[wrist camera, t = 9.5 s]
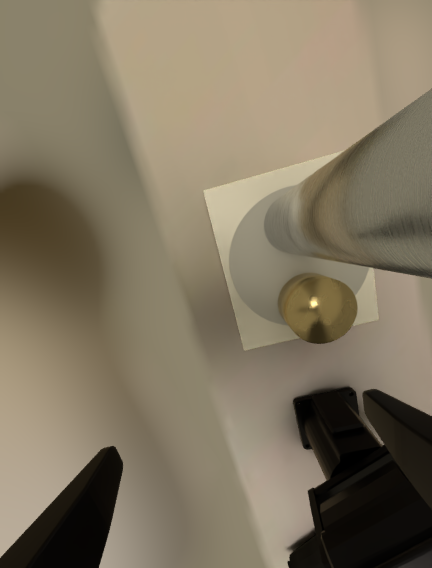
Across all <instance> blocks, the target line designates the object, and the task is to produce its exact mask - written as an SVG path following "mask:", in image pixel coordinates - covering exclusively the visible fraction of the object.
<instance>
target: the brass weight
mask: <svg viewBox="0 0 432 568" xmlns="http://www.w3.org/2000/svg"><path fill="white" fill-rule="evenodd" d="M357 309H358V307H357V300H356V297H355V295H354V293H353V291H352V290H351V289H350V288H349V287H348V286H347V285H346V284H345V283H343V282H341V281H339V280H336V279H333V278H330V277H327V276H324V275H321V274H317V273H302V274H299V275H297V276H295V277H293V278H291V279H290V280H289V281H288V282H287V283H286V284H285V285H284V286H283V288H282V289H281V291H280V294H279V297H278V310H279V313H280V315H281V317H282V318H283V319H284V321H285V322H286V323H287V324H288V326H289V327H290V328H291V329H292V330H293V332H294V333H295V334H296V335H297V336H298V337H300V338H301V339H303V340H305V341H307V342H310V343H316V344H323V343H328V342H332V341H334V340H337V339H338V338H340V337H341V336H343V335H344V334H345V333H346V332H347V331H348V330H349V329H350V328H351V326H352V325H353V323H354V321H355V319H356V315H357Z"/></svg>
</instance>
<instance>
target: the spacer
mask: <svg viewBox="0 0 432 568" xmlns="http://www.w3.org/2000/svg"><path fill="white" fill-rule="evenodd" d="M264 231H265V235H266V237H267V239H268V241H269V242H270V244H271V245H272V246H273V247H274V248H276V249H277V250H279V251H282V252H285V253H291V254H296V255H302V256H308V257H313V258H319V259H324V260H330V261H336V262H341V263H347V264H353V265H358V266H364V267H370V268H375V269H381V270H387V271H392V272H398V273H404V274H409V275H415V276H421V277H426V278H432V89H431V90H429V91H428V92H426V93H425V94H424V95H422V96H421V97H419V98H418V99H417V100H415V101H414V102H412V103H411V104H410V105H408V106H407V107H405V108H404V109H403V110H401V111H400V112H398V113H397V114H396V115H394V116H393V117H391V118H390V119H389V120H387V121H386V122H384V123H383V124H382V125H380V126H379V127H377V128H376V129H375V130H373V131H372V132H370V133H369V134H368V135H366V136H365V137H363V138H362V139H361V140H359V141H358V142H356V143H355V144H353V145H352V146H351V147H349V148H348V149H346V150H345V151H344V152H342V153H341V154H339V155H338V156H337V157H335V158H334V159H332V160H331V161H330V162H328V163H327V164H325V165H324V166H323V167H321V168H320V169H318V170H317V171H316V172H314V173H313V174H311V175H310V176H309V177H307V178H306V179H304V180H303V181H302V182H300V183H299V184H297V185H296V186H295V187H293V188H292V189H290V190H289V191H288V192H286V193H285V194H283V195H282V196H281V197H279V198H278V199H276V200H275V201H274V202H273V203H272V204H271V206H270V207H269V209H268V211H267V213H266V215H265V219H264Z"/></svg>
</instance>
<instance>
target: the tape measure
mask: <svg viewBox="0 0 432 568" xmlns="http://www.w3.org/2000/svg"><path fill="white" fill-rule="evenodd" d="M289 558H290V561H288V566H289V568H324V566H323V563H322V560H321V555H320V550H319V545H318V540H317V536H314V537H313V538H312V539H310V540H309V541H307V542H306V543H305V544H303V545H302V546H301V547H299V548H298V549H296V550H295V551H293V552H292V553H291V554H290V557H289Z"/></svg>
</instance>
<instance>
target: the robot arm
mask: <svg viewBox="0 0 432 568" xmlns="http://www.w3.org/2000/svg"><path fill="white" fill-rule="evenodd" d="M350 392H351V393H350ZM298 403H300V404H298ZM293 404H294V409H295V414H296V418H297V423H298V428H299V432H300V437H301V442H302V445H303V447H304V449H307V450H308V449H313V451H314V453H315V456H316V458H317V460H318V462H319V464H320V467H321V469H322V471H323V473H324V476H325V478H326V480H327V481H325V482H324V483H322V484H321V485H319V486H317V487H316V488H311V489H310V490H308V495H309V500H310V507H311V512H312V516H313V521H314V526H315V531H316V536H317V540H318V545H319V550H320V555H321V560H322V563H323V566H324V568H432V416H430V415H428V414H426V413H424V412H422V411H420V410H418V409H416V408H414V407H412V406H410V405H408V404H406V403H404V402H402V401H400V400H398V399H396V398H394V397H391V396H389V395H387V394H385V393H383V392H381V391H379V390H377V389H371V390H367V391H364V392H363V404H364V411H365V414H366V416H367V418H368V420H369V421H370V423H371V424H372V426H373V427H374V429H375V430H376V432H377V433H378V435H379V436H380V438H381V440H382V441H383V443H384V444H385V445H383V446H382V444H381V443H380V442H379V441H378V439H377V438H376V437H375V436H374V434H373V433H372V432H371V431H370V429H369V428H368V427H367V426H366V424H365V423H364V422H363V421H362V419H361V418H360V417H359V410H358V403H357V396H356V392H355V391H354V390H353V389H352V388H344V389H339V390H334V391H330V392H325V393H320V394H315V395H311V396H306V397H301V398H297V399H295V400H294V401H293ZM122 471H123V462H122V460H121V457H120V455H119V453H118V451H117V449H116V447H114V446H110V447H106V448H103V449H101V450H100V451H99V452H98V454H97V455H96V456H95V457H94V458H93V459H92V460H91V461H90V462H89V463H88V464H87V465H86V466H85V467H84V469H83V470H82V471H81V472H80V473H79V474H78V475H77V476H76V477H75V478H74V480H73V481H72V482H70V484H69V485H68V486H67V487H66V488H65V489H64V490H63V491H62V492H61V493H60V494H59V495H58V497H57V498H56V499H55V500H54V501H53V502H52V503H51V504H50V505H49V506H48V507H47V508H46V509H45V510H44V512H43V513H42V514H41V515H40V516H39V517H38V518H37V519H36V520H35V521H34V522H33V523H32V524H31V526H30V527H29V528H28V529H27V530H26V531H25V532H24V533H23V534H22V535H21V536H20V537H19V539H17V541H16V542H15V543H14V544H13V545H12V546H11V547H10V548H9V549H8V550H7V551H6V552H5V553H4V554H3V556H2V557H1V558H0V568H99V565H100V562H101V558H102V554H103V551H104V548H105V544H106V541H107V537H108V533H109V530H110V526H111V522H112V518H113V513H114V508H115V504H116V499H117V494H118V490H119V485H120V481H121V476H122Z"/></svg>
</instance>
